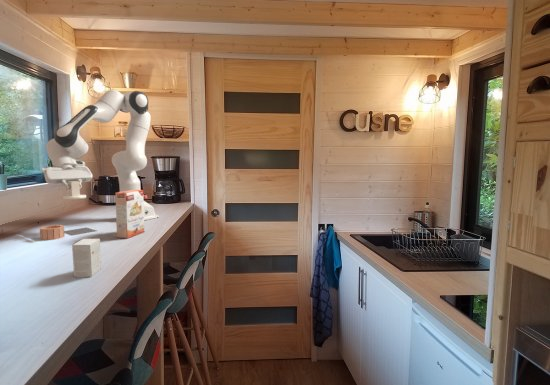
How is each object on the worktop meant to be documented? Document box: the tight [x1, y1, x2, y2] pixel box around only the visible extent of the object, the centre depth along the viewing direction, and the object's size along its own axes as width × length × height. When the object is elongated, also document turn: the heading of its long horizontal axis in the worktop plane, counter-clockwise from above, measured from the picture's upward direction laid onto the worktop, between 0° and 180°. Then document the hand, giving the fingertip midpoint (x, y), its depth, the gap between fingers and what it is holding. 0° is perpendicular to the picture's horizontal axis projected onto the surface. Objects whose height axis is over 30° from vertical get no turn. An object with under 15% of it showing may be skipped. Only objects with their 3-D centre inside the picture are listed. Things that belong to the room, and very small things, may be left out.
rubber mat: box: [64, 227, 98, 236], centre depth 172 cm, size 12×12×1 cm
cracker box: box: [115, 189, 145, 239], centre depth 167 cm, size 14×6×21 cm, turn 168°
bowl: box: [39, 224, 66, 241], centre depth 160 cm, size 9×9×5 cm
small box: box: [71, 238, 102, 278], centre depth 116 cm, size 8×6×10 cm
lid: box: [61, 181, 87, 200], centre depth 169 cm, size 10×10×8 cm
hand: (74, 188), depth 168 cm, fingers closed on lid, 3 cm apart
